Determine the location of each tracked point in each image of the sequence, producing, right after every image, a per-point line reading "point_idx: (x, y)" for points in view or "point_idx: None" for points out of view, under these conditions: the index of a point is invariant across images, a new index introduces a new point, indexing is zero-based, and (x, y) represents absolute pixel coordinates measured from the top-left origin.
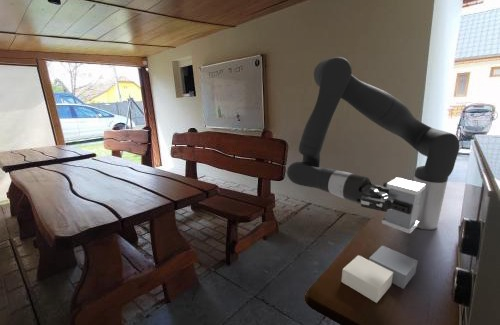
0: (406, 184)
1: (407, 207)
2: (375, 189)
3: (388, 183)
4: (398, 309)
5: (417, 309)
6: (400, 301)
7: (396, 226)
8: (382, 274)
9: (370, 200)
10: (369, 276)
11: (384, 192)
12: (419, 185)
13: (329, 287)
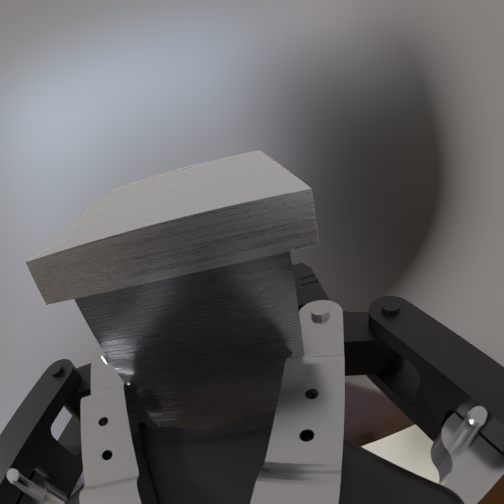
0: (187, 181)
1: (302, 263)
2: (292, 486)
3: (301, 187)
4: (388, 416)
5: (350, 406)
6: (365, 430)
7: None
8: (382, 454)
9: (493, 367)
10: (424, 457)
11: (193, 442)
12: (158, 176)
13: (494, 496)
